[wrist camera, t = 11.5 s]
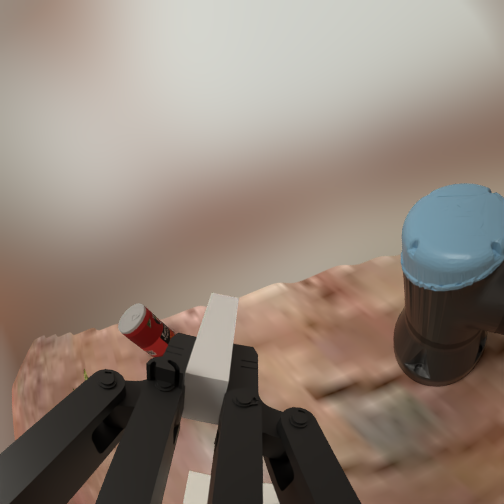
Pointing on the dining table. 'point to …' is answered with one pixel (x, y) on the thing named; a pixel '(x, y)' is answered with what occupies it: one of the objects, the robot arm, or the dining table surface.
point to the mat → (200, 488)
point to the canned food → (145, 330)
